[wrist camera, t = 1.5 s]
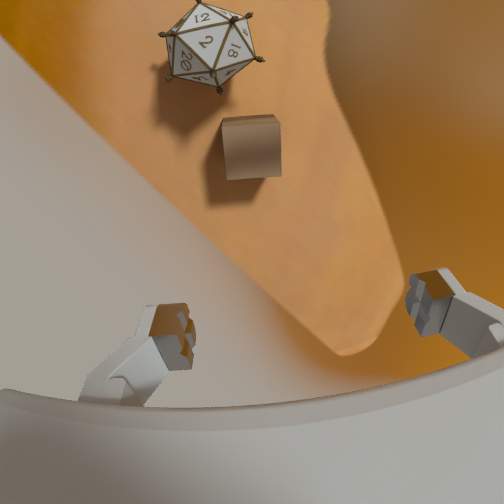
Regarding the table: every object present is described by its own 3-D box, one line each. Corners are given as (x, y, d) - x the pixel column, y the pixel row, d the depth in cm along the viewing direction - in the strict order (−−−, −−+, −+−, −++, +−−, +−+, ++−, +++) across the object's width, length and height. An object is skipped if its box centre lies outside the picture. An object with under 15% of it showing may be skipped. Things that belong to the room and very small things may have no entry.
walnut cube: (223, 117, 29) (221, 127, 25) (273, 114, 29) (280, 123, 25) (227, 163, 32) (226, 180, 28) (274, 159, 32) (281, 176, 28)
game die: (224, 63, 29) (236, 127, 26) (148, 44, 24) (141, 108, 21) (268, 0, 22) (295, 53, 19) (183, -29, 17) (182, 14, 14)
